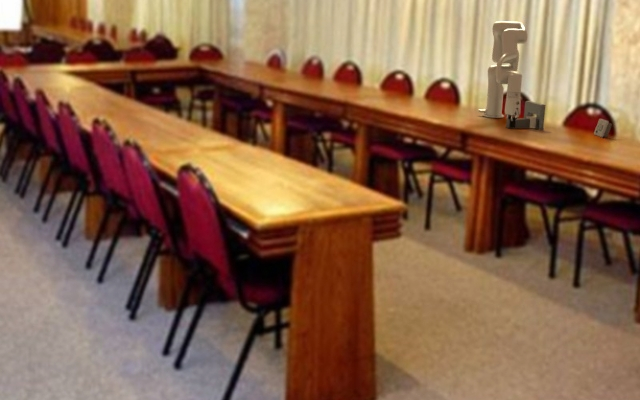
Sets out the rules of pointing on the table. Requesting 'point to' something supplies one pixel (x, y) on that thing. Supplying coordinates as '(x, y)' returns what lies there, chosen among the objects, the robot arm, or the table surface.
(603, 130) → the electrical switch
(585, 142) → the table surface
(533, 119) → the plug
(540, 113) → the grey arch block
